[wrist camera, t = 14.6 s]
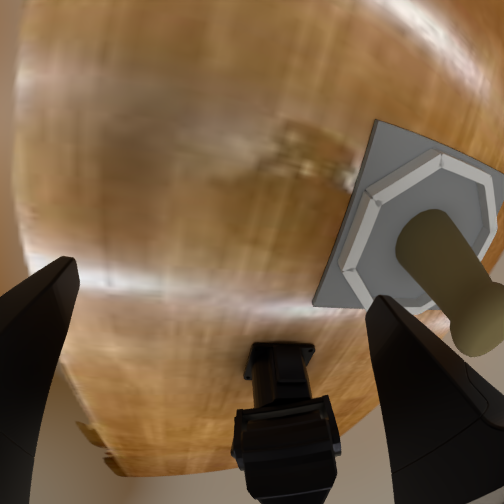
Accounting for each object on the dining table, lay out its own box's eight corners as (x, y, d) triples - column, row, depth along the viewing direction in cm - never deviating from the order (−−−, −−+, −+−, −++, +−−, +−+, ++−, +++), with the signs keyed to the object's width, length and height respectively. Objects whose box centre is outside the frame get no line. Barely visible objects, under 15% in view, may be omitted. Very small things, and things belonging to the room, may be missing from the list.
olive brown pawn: (463, 225, 22) (537, 313, 13) (424, 276, 25) (481, 371, 16) (424, 196, 20) (515, 294, 11) (381, 257, 23) (443, 368, 14)
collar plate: (441, 306, 28) (447, 317, 27) (311, 302, 26) (316, 316, 25) (508, 177, 19) (520, 185, 18) (375, 118, 17) (387, 124, 16)
